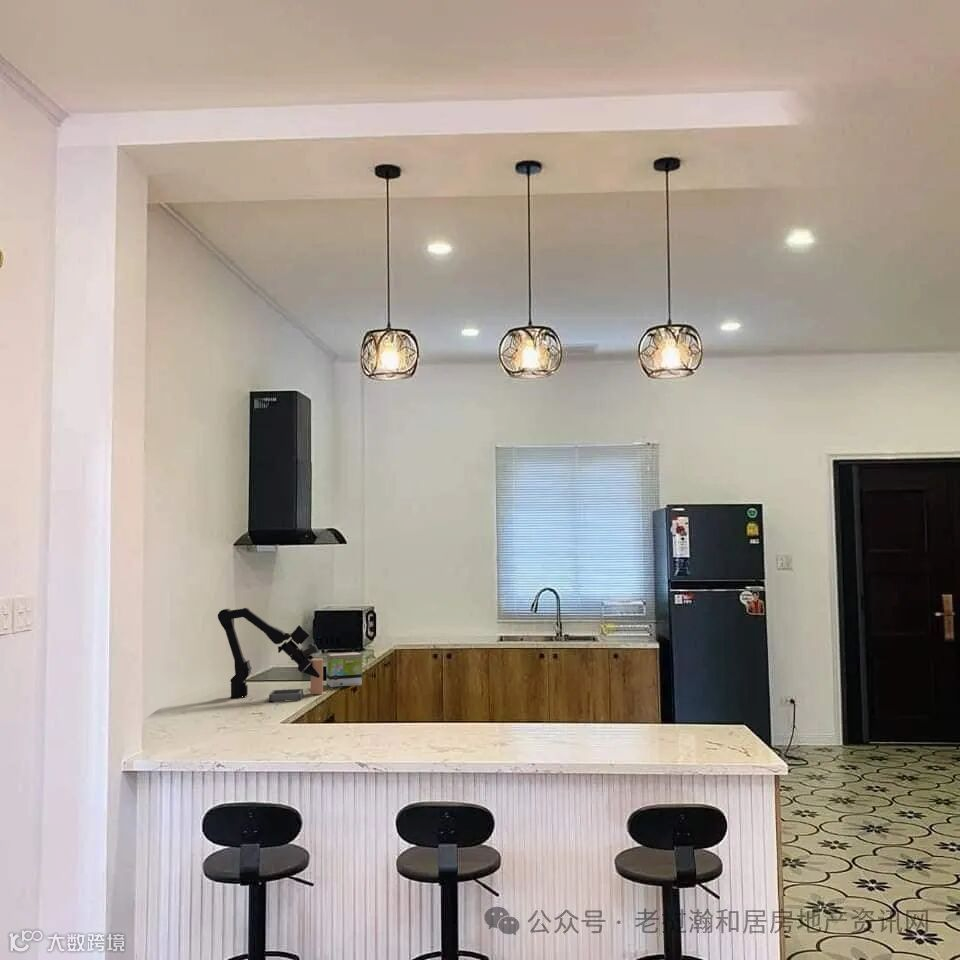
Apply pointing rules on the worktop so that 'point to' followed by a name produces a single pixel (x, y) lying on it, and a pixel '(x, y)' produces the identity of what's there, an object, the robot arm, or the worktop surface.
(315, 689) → the peach block
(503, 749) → the worktop surface
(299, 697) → the tray
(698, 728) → the worktop surface
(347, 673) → the tea box
